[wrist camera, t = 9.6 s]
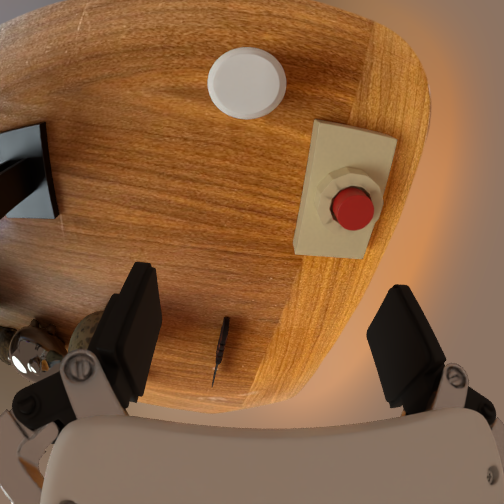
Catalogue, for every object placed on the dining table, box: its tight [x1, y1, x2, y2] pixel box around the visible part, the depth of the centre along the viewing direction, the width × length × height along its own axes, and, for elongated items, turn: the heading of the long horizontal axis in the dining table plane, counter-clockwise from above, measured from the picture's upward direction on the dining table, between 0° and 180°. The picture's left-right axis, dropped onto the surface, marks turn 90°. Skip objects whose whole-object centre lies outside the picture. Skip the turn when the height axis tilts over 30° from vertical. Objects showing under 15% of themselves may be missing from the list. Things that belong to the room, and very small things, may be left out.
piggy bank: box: [7, 319, 68, 383], centre depth 39 cm, size 11×15×12 cm
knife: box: [212, 318, 229, 387], centre depth 42 cm, size 17×1×3 cm, turn 168°
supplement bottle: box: [208, 47, 286, 119], centre depth 18 cm, size 5×5×10 cm
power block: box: [293, 119, 397, 259], centre depth 27 cm, size 14×8×4 cm, turn 175°
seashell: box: [0, 327, 16, 365], centre depth 44 cm, size 16×9×7 cm, turn 93°
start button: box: [333, 188, 374, 231], centre depth 25 cm, size 4×4×2 cm
